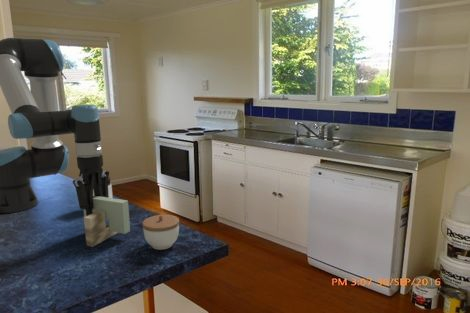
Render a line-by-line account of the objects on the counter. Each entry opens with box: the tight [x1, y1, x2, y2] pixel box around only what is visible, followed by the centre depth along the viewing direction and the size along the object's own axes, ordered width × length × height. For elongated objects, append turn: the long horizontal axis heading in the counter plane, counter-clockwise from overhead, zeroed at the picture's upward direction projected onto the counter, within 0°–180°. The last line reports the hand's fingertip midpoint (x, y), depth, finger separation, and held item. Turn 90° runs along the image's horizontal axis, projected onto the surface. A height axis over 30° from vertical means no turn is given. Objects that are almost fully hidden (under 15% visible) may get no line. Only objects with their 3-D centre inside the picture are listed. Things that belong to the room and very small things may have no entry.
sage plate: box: [83, 196, 131, 235], centre depth 115 cm, size 16×2×10 cm, turn 67°
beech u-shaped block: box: [83, 211, 119, 248], centre depth 116 cm, size 16×2×9 cm, turn 157°
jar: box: [93, 176, 113, 198], centre depth 141 cm, size 9×8×12 cm
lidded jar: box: [142, 214, 180, 251], centre depth 109 cm, size 11×11×9 cm
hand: (96, 225), depth 118 cm, fingers closed on sage plate, 2 cm apart
